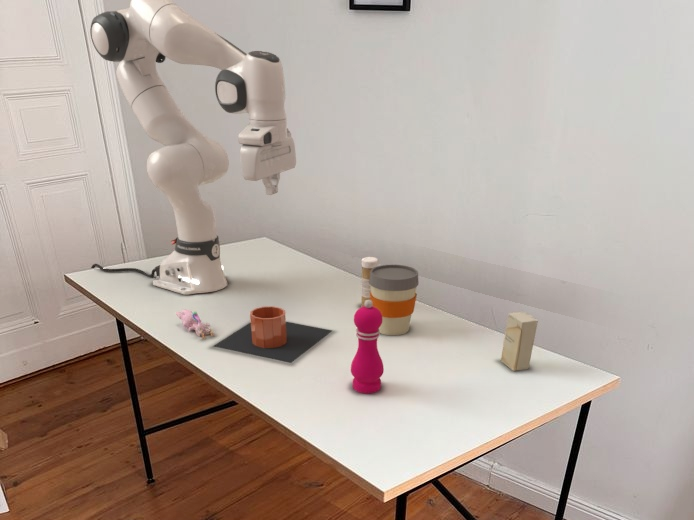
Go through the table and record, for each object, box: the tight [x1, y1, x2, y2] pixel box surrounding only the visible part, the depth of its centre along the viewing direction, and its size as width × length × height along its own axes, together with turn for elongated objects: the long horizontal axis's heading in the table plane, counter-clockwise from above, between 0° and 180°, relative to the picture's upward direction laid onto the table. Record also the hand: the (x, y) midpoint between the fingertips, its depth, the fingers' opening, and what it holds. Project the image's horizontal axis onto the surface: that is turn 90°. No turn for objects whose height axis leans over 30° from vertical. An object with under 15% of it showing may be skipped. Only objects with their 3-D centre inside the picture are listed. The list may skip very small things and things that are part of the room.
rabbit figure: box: [175, 309, 215, 340], centre depth 176 cm, size 6×6×15 cm
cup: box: [249, 305, 287, 348], centre depth 169 cm, size 8×8×8 cm
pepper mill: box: [350, 300, 385, 394], centre depth 146 cm, size 7×7×20 cm
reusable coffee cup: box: [369, 264, 419, 336], centre depth 176 cm, size 13×12×15 cm
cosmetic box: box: [500, 310, 539, 372], centre depth 159 cm, size 6×4×12 cm
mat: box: [213, 321, 333, 364], centre depth 173 cm, size 22×22×1 cm
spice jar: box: [360, 256, 379, 307], centre depth 189 cm, size 5×5×13 cm
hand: (271, 193), depth 170 cm, fingers closed
